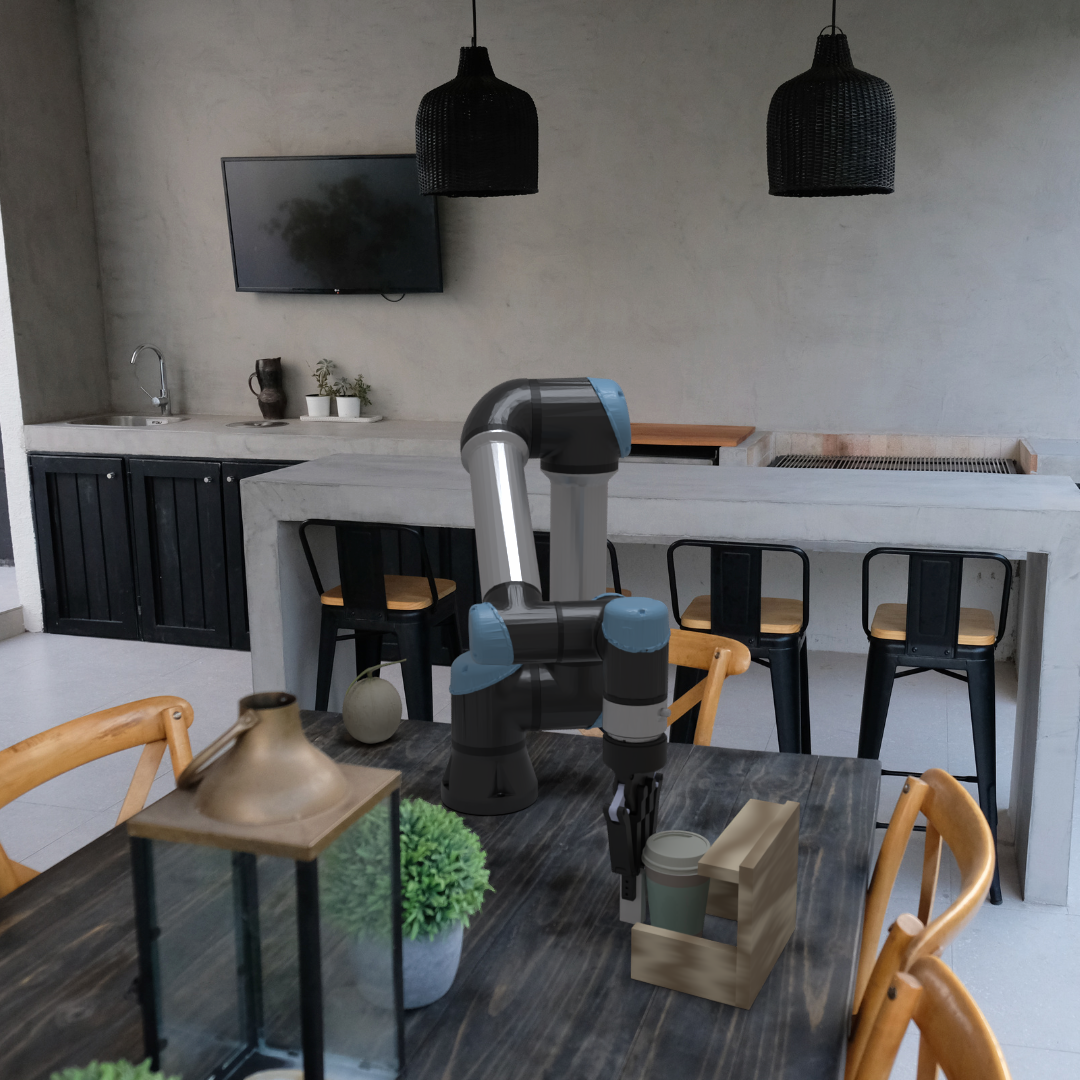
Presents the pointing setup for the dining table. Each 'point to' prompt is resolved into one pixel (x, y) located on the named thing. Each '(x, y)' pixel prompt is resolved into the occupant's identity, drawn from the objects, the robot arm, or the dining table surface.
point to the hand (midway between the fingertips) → (632, 920)
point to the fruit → (372, 707)
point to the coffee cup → (676, 881)
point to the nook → (733, 911)
